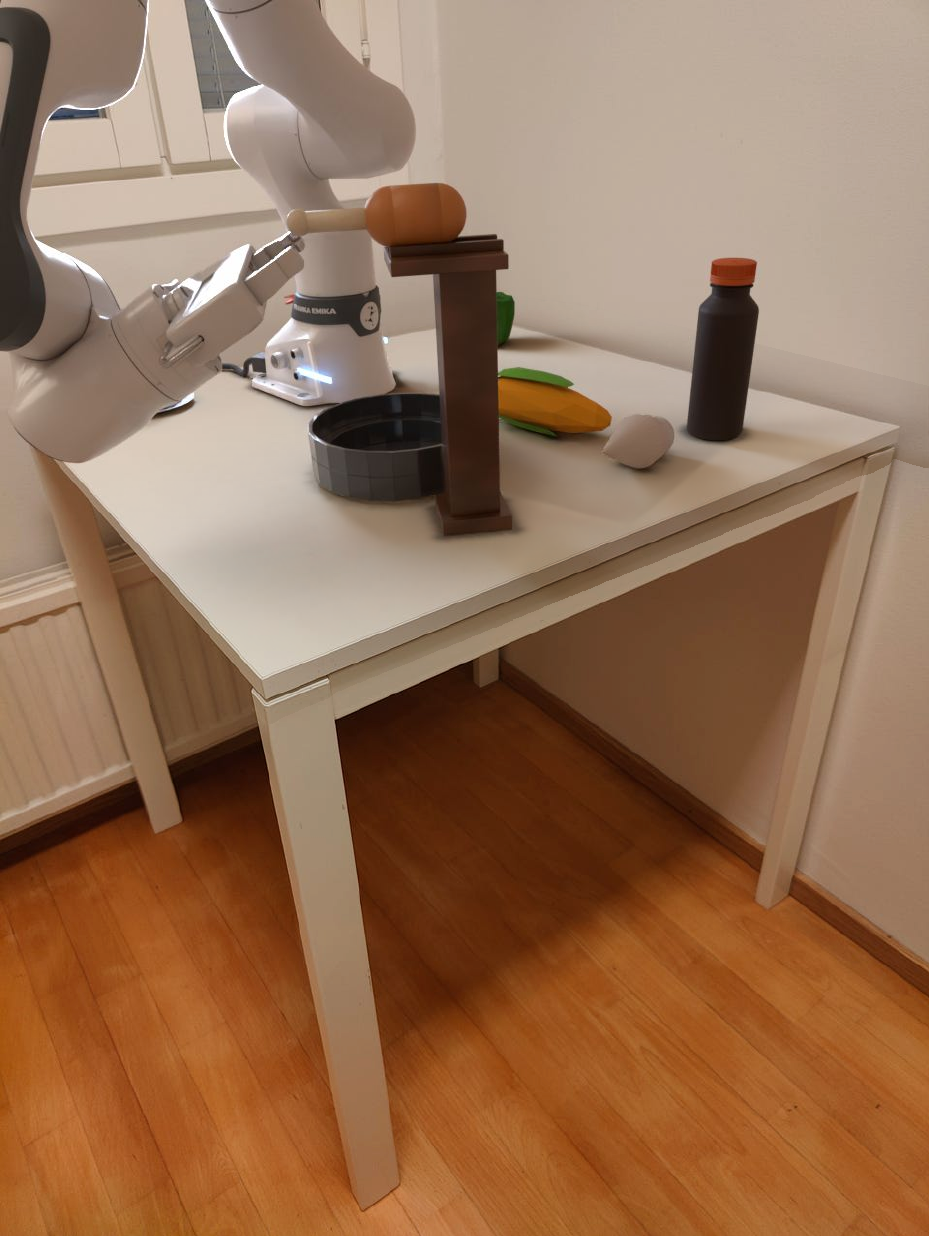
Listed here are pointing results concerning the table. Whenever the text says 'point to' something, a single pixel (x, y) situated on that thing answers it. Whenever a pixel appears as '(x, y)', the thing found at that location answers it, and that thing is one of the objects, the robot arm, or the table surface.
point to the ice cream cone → (640, 440)
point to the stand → (465, 374)
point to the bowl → (380, 447)
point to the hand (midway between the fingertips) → (300, 245)
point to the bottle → (723, 352)
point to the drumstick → (393, 216)
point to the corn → (547, 403)
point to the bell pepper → (504, 316)
